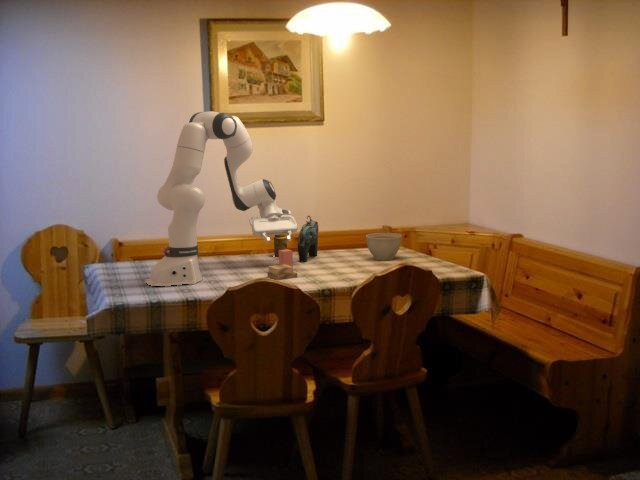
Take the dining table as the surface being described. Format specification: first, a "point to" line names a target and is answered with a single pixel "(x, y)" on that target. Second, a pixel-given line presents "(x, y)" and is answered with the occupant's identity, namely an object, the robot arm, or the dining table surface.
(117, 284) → the dining table surface
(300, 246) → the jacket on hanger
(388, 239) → the planter bowl
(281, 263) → the brick-red pillar
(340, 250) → the dining table surface
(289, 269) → the oak top slab
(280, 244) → the condiment
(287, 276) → the walnut base slab
